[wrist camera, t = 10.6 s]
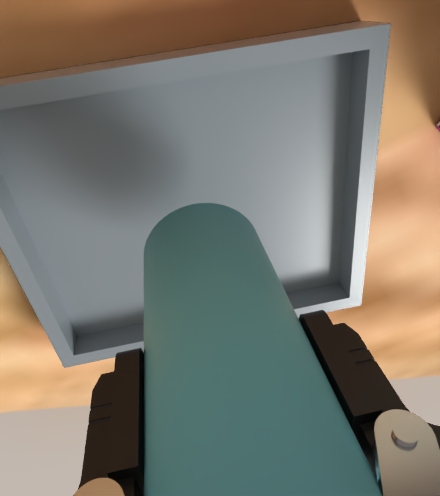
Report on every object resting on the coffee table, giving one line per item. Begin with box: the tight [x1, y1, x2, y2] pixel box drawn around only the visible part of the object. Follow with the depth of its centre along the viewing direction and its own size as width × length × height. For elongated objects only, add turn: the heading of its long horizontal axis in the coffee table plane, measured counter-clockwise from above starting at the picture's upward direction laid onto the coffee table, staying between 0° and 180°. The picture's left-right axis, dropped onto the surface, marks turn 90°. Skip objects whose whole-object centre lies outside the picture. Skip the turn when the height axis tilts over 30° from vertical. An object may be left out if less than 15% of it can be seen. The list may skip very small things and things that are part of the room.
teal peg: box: [144, 203, 383, 496], centre depth 12 cm, size 5×5×12 cm
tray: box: [0, 21, 391, 368], centre depth 20 cm, size 18×15×2 cm
